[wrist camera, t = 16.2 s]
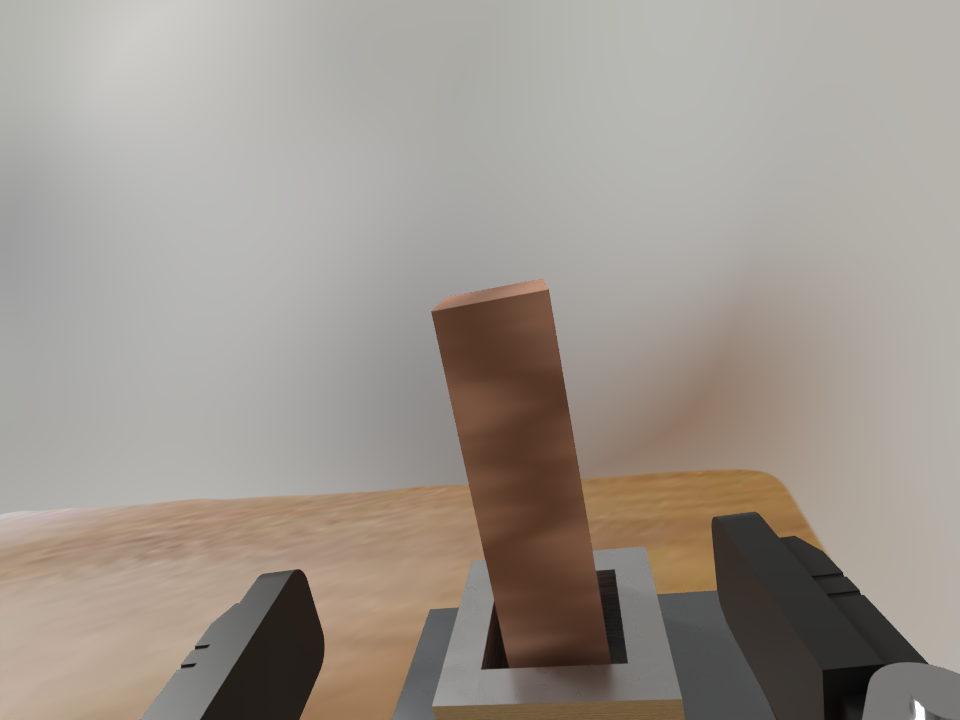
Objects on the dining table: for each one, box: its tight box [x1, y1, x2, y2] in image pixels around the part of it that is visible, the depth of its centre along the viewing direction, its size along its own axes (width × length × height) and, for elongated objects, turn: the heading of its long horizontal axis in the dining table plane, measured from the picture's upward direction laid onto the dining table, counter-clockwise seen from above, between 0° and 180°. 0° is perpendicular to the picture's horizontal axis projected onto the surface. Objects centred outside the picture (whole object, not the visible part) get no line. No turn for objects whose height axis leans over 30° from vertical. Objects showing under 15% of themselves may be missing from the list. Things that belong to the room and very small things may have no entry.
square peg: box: [432, 279, 611, 669], centre depth 22 cm, size 4×4×18 cm
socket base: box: [392, 547, 776, 720], centre depth 24 cm, size 16×12×5 cm
